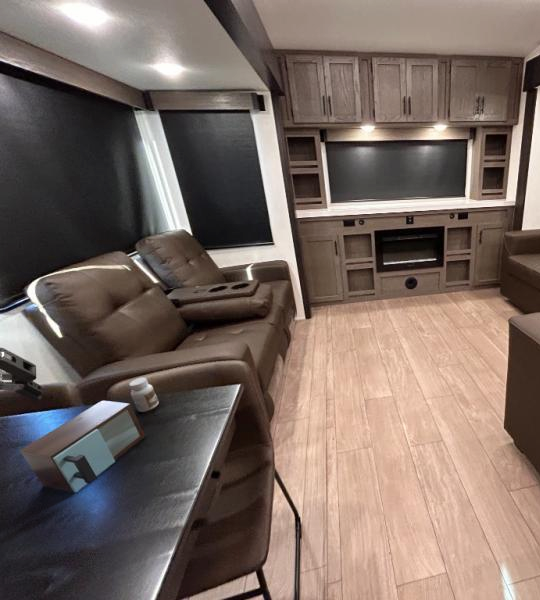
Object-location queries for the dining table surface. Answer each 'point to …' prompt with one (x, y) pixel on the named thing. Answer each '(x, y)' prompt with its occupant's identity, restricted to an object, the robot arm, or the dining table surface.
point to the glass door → (84, 460)
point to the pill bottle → (143, 395)
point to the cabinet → (103, 416)
